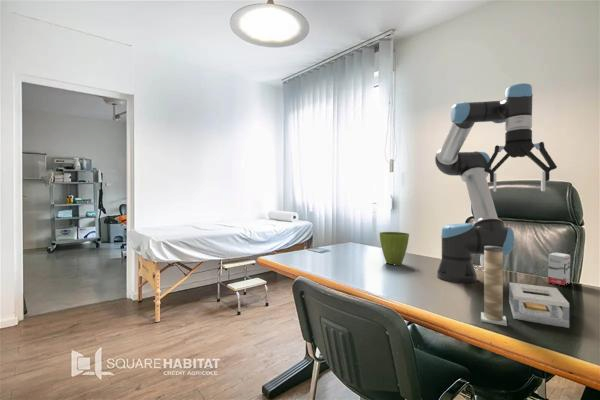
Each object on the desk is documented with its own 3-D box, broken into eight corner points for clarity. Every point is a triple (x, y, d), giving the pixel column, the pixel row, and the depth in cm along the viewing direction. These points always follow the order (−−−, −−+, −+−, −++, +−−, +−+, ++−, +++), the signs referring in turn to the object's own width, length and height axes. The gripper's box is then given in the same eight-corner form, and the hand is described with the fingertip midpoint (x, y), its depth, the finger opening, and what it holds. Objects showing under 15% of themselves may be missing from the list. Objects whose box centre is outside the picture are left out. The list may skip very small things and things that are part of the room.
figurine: (469, 267, 148) (469, 243, 148) (478, 265, 152) (478, 242, 152) (488, 271, 140) (488, 246, 140) (497, 269, 145) (497, 244, 145)
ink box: (563, 286, 116) (563, 256, 116) (547, 283, 121) (547, 254, 121) (570, 283, 121) (570, 253, 121) (555, 280, 125) (555, 252, 125)
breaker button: (527, 314, 88) (527, 306, 88) (525, 309, 92) (525, 301, 92) (547, 317, 86) (547, 309, 86) (544, 312, 90) (544, 304, 90)
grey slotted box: (513, 318, 85) (513, 295, 85) (509, 301, 99) (509, 282, 99) (569, 328, 79) (569, 303, 79) (556, 308, 93) (556, 287, 93)
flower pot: (388, 259, 167) (388, 231, 167) (414, 263, 156) (414, 233, 156) (373, 263, 157) (373, 233, 157) (400, 268, 146) (400, 235, 146)
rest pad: (480, 321, 84) (480, 319, 84) (480, 314, 89) (480, 312, 89) (507, 325, 80) (507, 323, 80) (505, 318, 86) (505, 316, 86)
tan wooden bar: (484, 318, 84) (484, 247, 84) (484, 313, 88) (484, 245, 87) (503, 322, 81) (503, 248, 81) (502, 316, 85) (502, 246, 85)
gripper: (476, 132, 107) (476, 191, 107) (568, 123, 94) (568, 190, 94) (476, 136, 114) (476, 191, 114) (562, 128, 101) (562, 191, 101)
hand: (518, 191), depth 104 cm, fingers open, 13 cm apart
